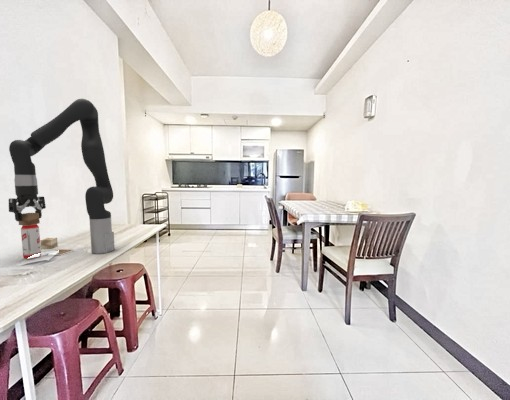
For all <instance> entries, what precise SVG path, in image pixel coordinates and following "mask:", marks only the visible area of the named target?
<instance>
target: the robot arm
mask: <svg viewBox="0 0 510 400" xmlns="http://www.w3.org/2000/svg"><path fill="white" fill-rule="evenodd" d="M76 122H80V127H81V131H82V133H81V136H82V137H81V141H80V143H81V144H80V147H81V149H80V150H81V153H82V155H81V156H82V161H83V162H84V164H85V166H86V167H87V169H88V170H89V171H90V173H91V174H92V176H93V178H94V181H95V186H90V187H88V188H87V189H86V191H85V194H84V198H85V207H86V212H87V215H88V217H89V233H90V234H89V235H90V249H91V250H90V251H91V254H94V255H95V254H99V255H100V254H107V253H110V252H113V251H115V250H116V249H115V248H116V247H115V246H116V244H115V232H114V231H112V230H113V228H112V212H111V211H109V210H107V209H106V208H105V207H106V206H105V205H107V204H110V203H111V202H113V199H114V192H113V191H114V190H113V187H112V184H111V180H110V178H109V177H110V176H109V173H108V167H107V162H106V156H105V150H104V145H103V141H102V138H101V134H100V126H99V111H98V110H97V108H96V106H95V105H94V104H93V103H92V102H91V101H90V100H89V99H86V98H78V99H75V100H74V101H73V102H72V103H70V105H69V106H67V107H66V108H65V109H64V110H63V111H61V112H60V113H59V114H57V116H55V117H54V118H53V119H51V120H50V121H48V122H47V123H44V124H43V125H41V126H40V127H38V128H36V130H33V131H32V132H31V133H30V136H29V137H28V138H27V139H26V140H22V139H14V140H13V141H11V142H10V144H9V146H8V150H9V154H10V157H11V161H12V164H13V171H14V180H13V181H14V192H15V193H14V194H15V196H16V198H11V197H10V198H8V212H9V213H13V214H14V220H15V221H16V222H19V221H22V214H23V213H22V212H23V210H24V209H26V208H29V207H30V208H31V207H32V208H33V209H34V210H35V211H34V213H39V219H41V218H42V216H43V215H42V213H43V212H42V210H44V209H46V208H47V207H46V200H45V199H46V198H45V197H44V196H38V195H39V188H38V187H39V186H38V179H37V173H36V165H35V163H33V161H32V157H33V156H35V155H36V154H38V153H39V152H40V151H41V150H42V149H44V148H45V146H47V145H49V144H50V143H52V142H53V141H56V140H57V139H58V138H60V137H61V136H62V135H63V134H64V133H65V132H66V131H67V129H68V128H70V127H71V126H72V125H73V124H75V123H76Z"/></svg>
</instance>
